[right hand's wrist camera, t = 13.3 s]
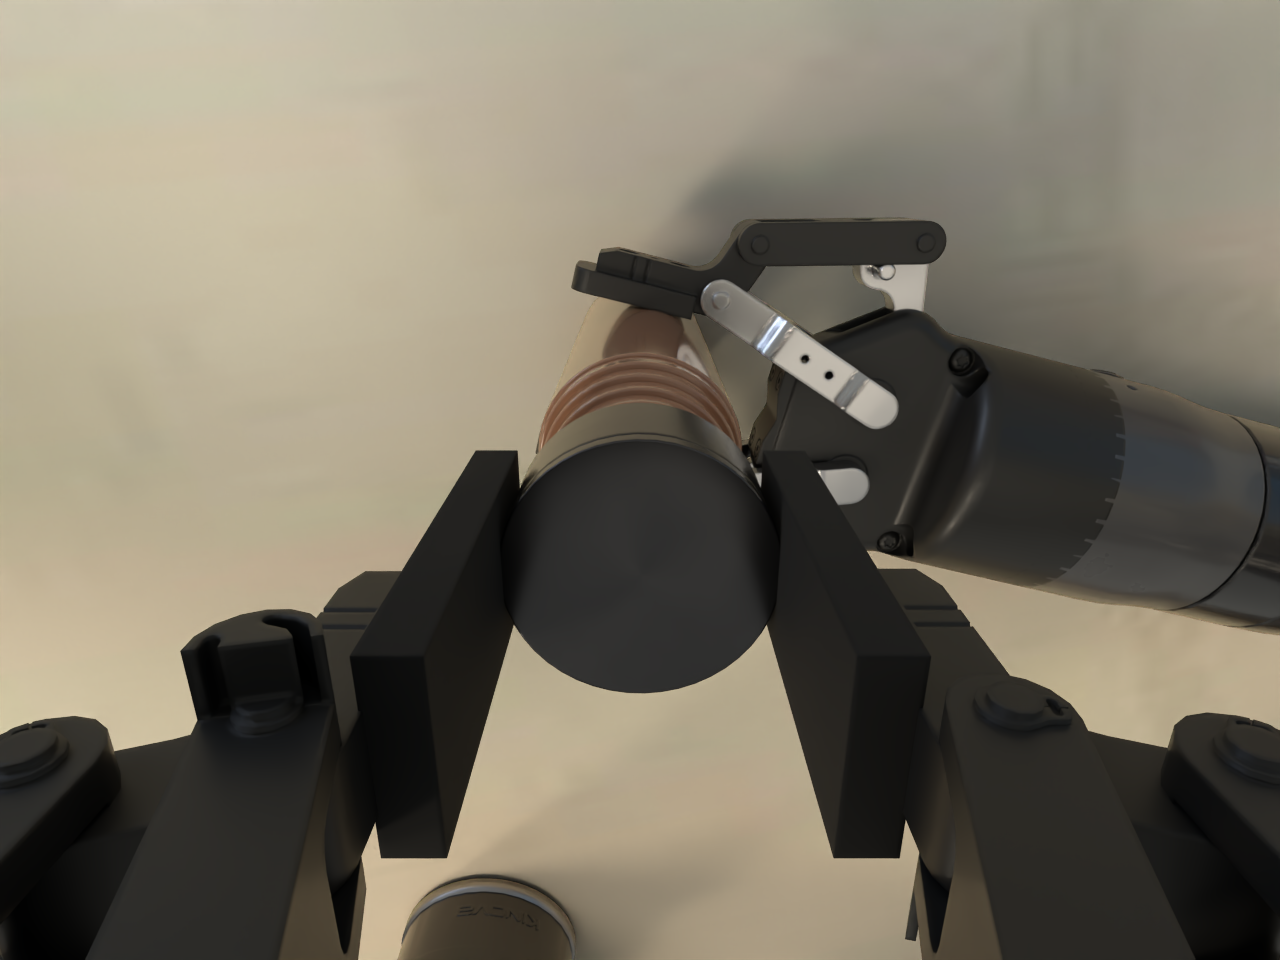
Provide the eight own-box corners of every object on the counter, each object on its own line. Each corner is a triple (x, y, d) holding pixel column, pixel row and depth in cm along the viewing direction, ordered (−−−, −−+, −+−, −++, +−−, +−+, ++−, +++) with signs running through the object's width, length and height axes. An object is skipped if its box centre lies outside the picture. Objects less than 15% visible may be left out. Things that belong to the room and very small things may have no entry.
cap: (528, 629, 15) (511, 697, 13) (506, 405, 14) (483, 443, 12) (759, 623, 15) (778, 691, 13) (766, 397, 14) (789, 435, 12)
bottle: (600, 263, 30) (538, 387, 12) (714, 300, 31) (826, 473, 12) (568, 377, 32) (469, 641, 13) (677, 410, 32) (726, 709, 14)
